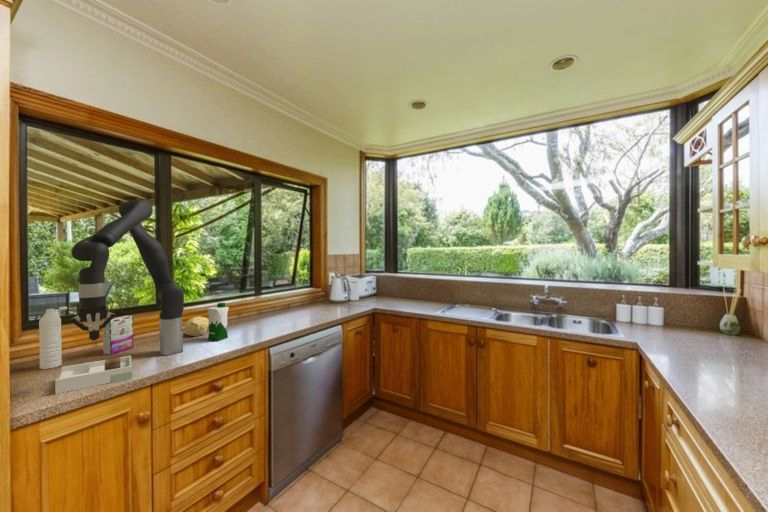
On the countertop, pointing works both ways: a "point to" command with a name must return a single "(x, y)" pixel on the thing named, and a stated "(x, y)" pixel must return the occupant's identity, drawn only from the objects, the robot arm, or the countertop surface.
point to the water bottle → (50, 339)
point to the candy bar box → (118, 335)
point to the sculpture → (196, 326)
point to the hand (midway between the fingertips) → (94, 339)
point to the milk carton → (218, 322)
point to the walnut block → (112, 364)
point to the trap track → (92, 375)
